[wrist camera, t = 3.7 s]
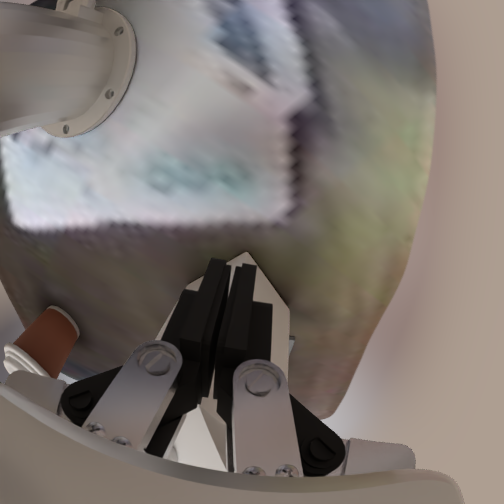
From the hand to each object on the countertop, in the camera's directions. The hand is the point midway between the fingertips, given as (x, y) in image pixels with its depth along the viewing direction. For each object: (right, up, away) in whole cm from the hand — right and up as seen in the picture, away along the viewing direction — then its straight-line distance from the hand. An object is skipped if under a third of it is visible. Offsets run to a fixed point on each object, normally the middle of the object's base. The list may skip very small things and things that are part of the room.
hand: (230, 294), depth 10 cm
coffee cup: (-27, -9, +21) cm, 35 cm away
